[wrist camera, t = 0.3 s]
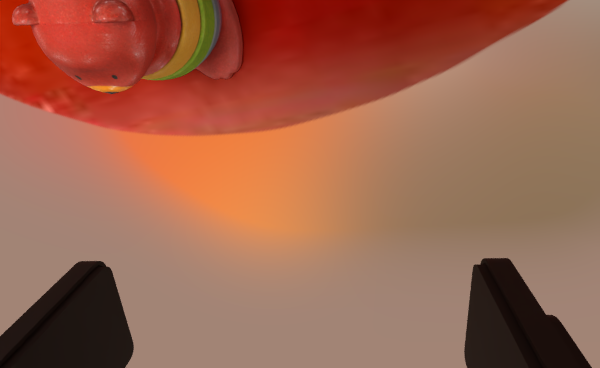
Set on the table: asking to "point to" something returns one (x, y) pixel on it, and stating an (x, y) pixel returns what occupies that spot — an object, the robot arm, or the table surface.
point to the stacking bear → (135, 39)
